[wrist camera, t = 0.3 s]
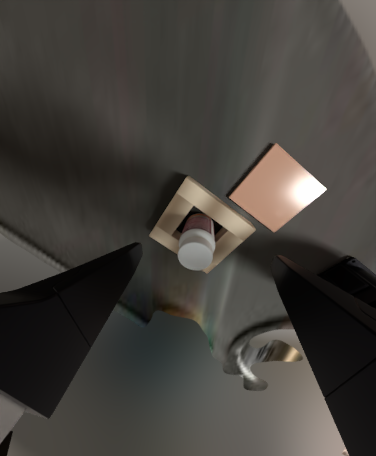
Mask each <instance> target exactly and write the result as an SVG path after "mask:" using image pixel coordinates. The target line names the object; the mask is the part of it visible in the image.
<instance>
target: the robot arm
mask: <svg viewBox="0 0 376 456" xmlns="http://www.w3.org/2000/svg"><path fill="white" fill-rule="evenodd" d="M142 254H143V251H142V245H141V243H137V242H135V243H132V244H130V245H127V246H125V247H123V248H120V249H118V250H116V251H113V252H111V253H108V254H106V255H104V256H101V257H99V258H97V259H94V260H92V261H89V262H87V263H85V264H83V265H80V266H77V267H75V268H73V269H70V270H68V271H65V272H63V273H60V274H58V275H55V276H52V277H49V278H47V279H44V280H41V281H39V282H36V283H33V284H31V285H28V286H25V287H22V288H20V289H17V290H13V291H8V292H3V293H0V456H7V453H8V449H9V445H10V441H11V437H12V433H13V431H10V430H11V429H12V428H13V426H14V425H15V424H16V422H17V421H18V420H19V418H20V417H21V416H22V414H23V413H24V412H27V413H30V414H33V415H36V416H40V417H43V418H47V419H49V418H50V417H51V415H52V414H53V412H54V410H55V409H56V407H57V405H58V403H59V402H60V400H61V398H62V397H63V395H64V393H65V392H66V390H67V388H68V386H69V384H70V383H71V381H72V380H73V378H74V376H75V374H76V373H77V371H78V369H79V368H80V366H81V364H82V362H83V361H84V359H85V357H86V356H87V354H88V352H89V350H90V348H91V347H92V345H93V343H94V341H95V340H96V338H97V336H98V335H99V333H100V331H101V330H102V328H103V326H104V324H105V323H106V321H107V319H108V317H109V316H110V314H111V312H112V311H113V309H114V307H115V306H116V304H117V302H118V300H119V299H120V297H121V295H122V294H123V292H124V290H125V288H126V287H127V285H128V283H129V281H130V280H131V278H132V276H133V275H134V273H135V271H136V268H137V266H138V264H139V262H140V259H141V257H142ZM271 271H272V274H273V277H274V280H275V284H276V287H277V290H278V292H279V295H280V297H281V300H282V302H283V304H284V306H285V309H286V311H287V313H288V316H289V318H290V320H291V323H292V325H293V327H294V329H295V332H296V334H297V336H298V339H299V341H300V343H301V345H302V348H303V350H304V352H305V355H306V357H307V359H308V361H309V364H310V366H311V368H312V371H313V373H314V375H315V378H316V380H317V382H318V384H319V387H320V389H321V391H322V394H323V396H324V397H325V401H326V403H327V405H328V408H329V410H330V412H331V415H332V417H333V419H334V422H335V424H336V426H337V428H338V431H339V433H340V435H341V438H342V440H343V442H344V445H345V447H346V449H347V451H348V454H349V456H376V275H375V274H374V273H373V272H372V271H370V270H369V269H368V268H367V267H366V266H364V265H363V264H362V263H361V262H360V261H358V260H357V259H356V258H354V257H351V258H349V259H347V260H345V261H343V262H341V263H340V264H338V265H336V266H334V267H332V268H331V269H329V270H327V271H325V272H324V273H322V274H320V275H318V276H317V275H315V274H314V273H312V272H310V271H308V270H307V269H305V268H303V267H301V266H300V265H298V264H296V263H294V262H293V261H291V260H289V259H287V258H286V257H284V256H281V255H275V256H274V258H273V261H272V263H271Z"/></svg>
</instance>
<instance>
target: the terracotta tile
mask: <svg viewBox="0 0 376 456" xmlns="http://www.w3.org/2000/svg"><path fill="white" fill-rule="evenodd" d="M325 190H327V189H326V188H325V187H324V186H323V185H322V184H321V183H319V182H318V181H317V180H316V179H315V178H314V177H313V176H312V175H311V174H310V173H308V172H307V171H306V170H305V169H304V168H303V167H302V166H301V165H300V164H298V163H297V162H296V161H295V160H294V159H293V158H292V157H291V156H290V155H289V154H287V153H286V152H285V151H284V150H283V149H282V148H281V147H280V146H279V145H278V144H276V143H275V144H274V145H273V146H272V147H271V148H270V149H269V150H268V151H267V153H266V154H265V155H264V156H263V157H262V158H261V160H260V161H259V162H258V163H257V164H256V165H255V167H254V168H253V169H252V170H251V171H250V172H249V174H248V175H247V176H246V177H245V178H244V179H243V181H242V182H241V183H240V184H239V185H238V186H237V188H236V189H235V190H234V191H233V192H232V193H231V195H230V196H229V198H230V199H231V200H233V201H234V202H235V203H236V204H238V205H239V206H240V207H242V208H243V209H244V210H246V211H247V212H248V213H249V214H251V215H252V216H253V217H255V218H256V219H257V220H259V221H260V222H261V223H262V224H264V225H265V226H266V227H268V228H269V229H270V230H272V231H273V232H275V231H277V230H278V229H279V228H280V227H282V226H283V225H284V224H285V223H286V222H288V221H289V220H290V219H291V218H292V217H294V216H295V215H296V214H297V213H299V212H300V211H301V210H302V209H303V208H305V207H306V206H307V205H308V204H310V203H311V202H312V201H313V200H314V199H316V198H317V197H318V196H319V195H321V194H322V193H323V192H324V191H325Z"/></svg>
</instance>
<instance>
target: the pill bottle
mask: <svg viewBox="0 0 376 456" xmlns="http://www.w3.org/2000/svg"><path fill="white" fill-rule="evenodd" d="M215 246H216V244H215V234H214V224H213V221H212V220H211V218H210V217H209V216H207V215H205V214H201V213H197V214H194V215H191V216H190V217H189V218H188V219H187V221H186V223H185V226H184V229H183V231H182V234H181V237H180V239H179V251H178V259H179V261H180V263H181V264H182V265H183V266H184V267H186V268H188V269H191V270H202V269H205V268H207V267H208V266H209V265H210V264H211V262H212V260H213V252H214V250H215Z"/></svg>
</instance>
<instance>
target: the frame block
mask: <svg viewBox="0 0 376 456" xmlns="http://www.w3.org/2000/svg"><path fill="white" fill-rule="evenodd" d="M193 206H195V207H197V208H198V209H200V210H201V211H202V212H204V213H205V214H207V215H208V216H209V217H211V218H212V219H213V220H215V221H216V222H218V223H219V224H220V225H222V226H223V227H222V228H221V229H220V230H219V232H218V233H217V234H216V235H215V244H216V246H215V250H214V252H213V260H212V262H211V264H210V265H209V266H208V267H207V268H205V269H202V270H203V271H204V272H206V273H208V272H209V271H211V270H212V269H213V268H214V267H215V266H216V265H217V264H218V263H220V262H221V261H222V260H223V259H224V258H225V257H226V256H227V255H228V254H230V253H231V252H232V251H233V250H234V249H235V248H236V247H237V246H239V245H240V244H241V243H242V242H243V241H244V240H245V239H246V238H248V237H249V236H250V235H251V234H252V233H253V232H254V231H255V230H256V229H255V228H254V226H253V225H252V223H251V222H249V221H248V220H247V219H245V218H244V217H243V216H241V215H240V214H239V213H238V212H236V211H235V210H234V209H232V208H231V207H230V206H228V205H227V204H226V203H224V202H223V201H222V200H220V199H219V198H218V197H216V196H215V195H214V194H212V193H211V192H210V191H209V190H207V189H206V188H205V187H203V186H202V185H201V184H199V183H198V182H197V181H195V180H194V179H193V178H191V177H190V176H188V177H186V178H185V180H184V182H183V183H182V185H181V186H180V188H179V189H178V191H177V193H176V194H175V196H174V197H173V199H172V200H171V202H170V204H169V205H168V207H167V208H166V210H165V211H164V213H163V214H162V216H161V218H160V219H159V221H158V222H157V224H156V225H155V227H154V229H153V230H152V232H151V233H150V235H149V236H150V237H151V238H153V239H154V240H156V241H158V242H159V243H161V244H162V245H164V246H165V247H167V248H168V249H170V250H171V251H173V252H175V253H176V254H178V251H179V239H180V237H181V234H182V233H180V232H179V231H177V230H176V228H177V227H178V226H179V224H180V223H181V222H182V220H183V219H184V218H185V216H186V215H187V214H188V212H189V211H190V210H191V208H192V207H193Z"/></svg>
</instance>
